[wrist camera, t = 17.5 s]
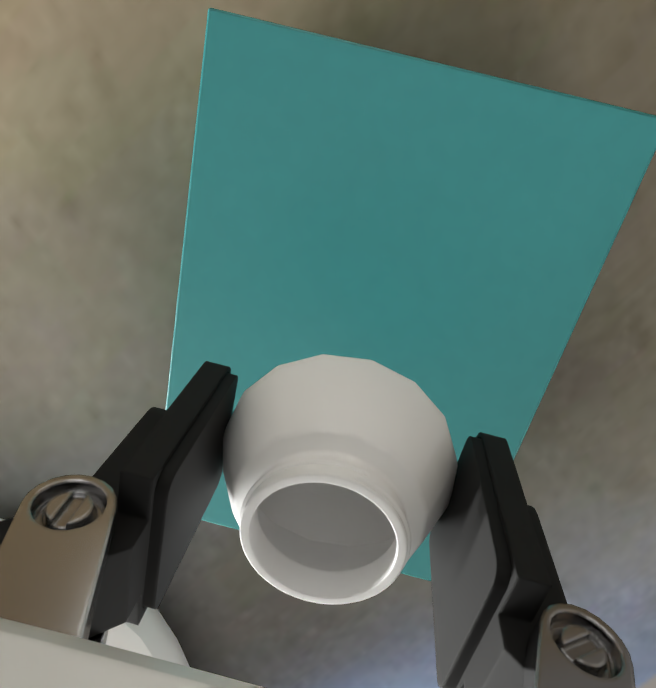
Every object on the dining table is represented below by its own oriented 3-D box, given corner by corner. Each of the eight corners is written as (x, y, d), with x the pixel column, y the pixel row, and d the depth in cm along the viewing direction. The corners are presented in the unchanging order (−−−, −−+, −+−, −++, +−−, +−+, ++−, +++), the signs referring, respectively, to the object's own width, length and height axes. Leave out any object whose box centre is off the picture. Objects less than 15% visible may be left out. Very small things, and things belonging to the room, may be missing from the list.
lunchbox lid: (217, 11, 14) (207, 6, 13) (656, 118, 14) (671, 119, 13) (163, 494, 21) (154, 508, 20) (453, 571, 20) (455, 588, 20)
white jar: (383, 563, 13) (497, 415, 11) (378, 676, 11) (526, 510, 9) (202, 476, 13) (287, 306, 11) (150, 571, 10) (249, 371, 8)
